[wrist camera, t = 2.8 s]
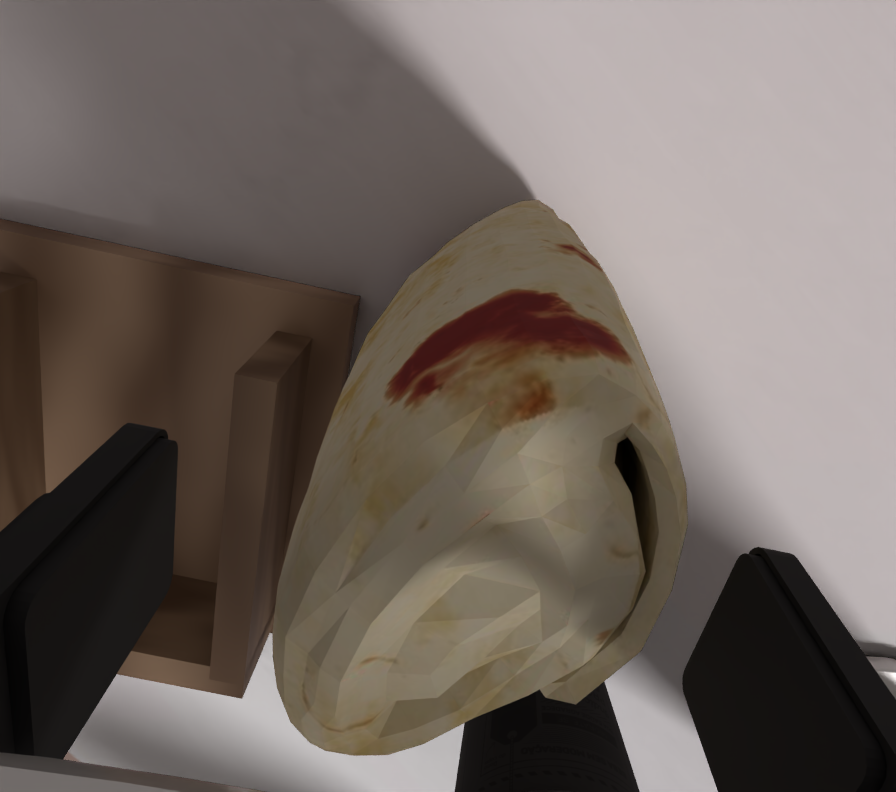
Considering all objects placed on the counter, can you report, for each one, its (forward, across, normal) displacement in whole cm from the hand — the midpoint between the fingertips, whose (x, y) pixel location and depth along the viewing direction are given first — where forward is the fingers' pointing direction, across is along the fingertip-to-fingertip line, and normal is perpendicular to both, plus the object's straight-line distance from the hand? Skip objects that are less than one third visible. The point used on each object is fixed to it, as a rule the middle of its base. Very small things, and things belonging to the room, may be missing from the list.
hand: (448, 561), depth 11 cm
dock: (+19, +12, +11) cm, 25 cm away
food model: (+19, -1, +1) cm, 19 cm away
